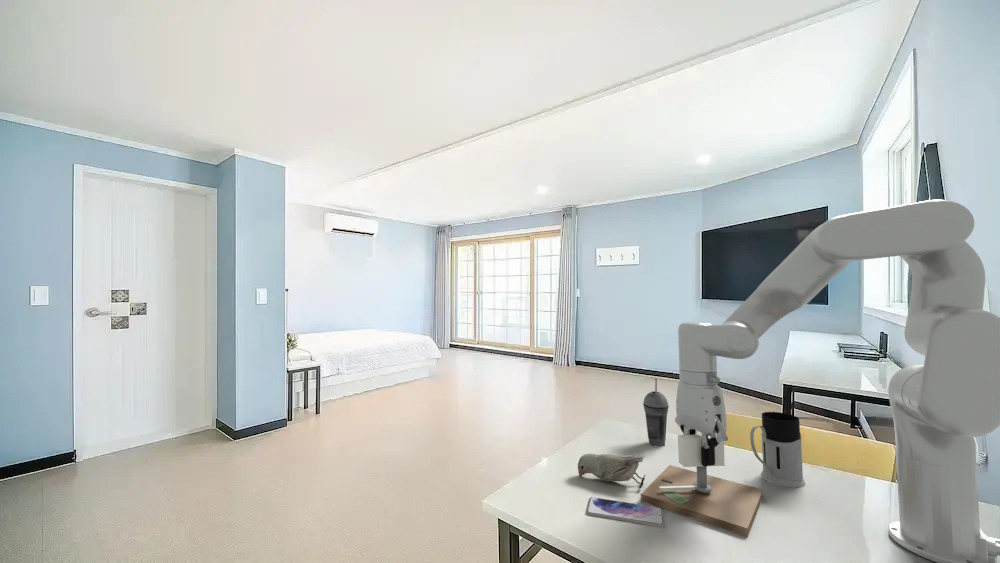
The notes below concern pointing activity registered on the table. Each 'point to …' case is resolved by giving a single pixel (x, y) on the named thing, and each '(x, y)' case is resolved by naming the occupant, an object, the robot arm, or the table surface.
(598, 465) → the decorative bird
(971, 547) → the robot arm
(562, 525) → the table surface
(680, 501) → the brown wooden flat slab
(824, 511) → the table surface
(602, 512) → the smartphone
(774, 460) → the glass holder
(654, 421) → the beverage cup
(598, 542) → the table surface
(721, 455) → the stand
